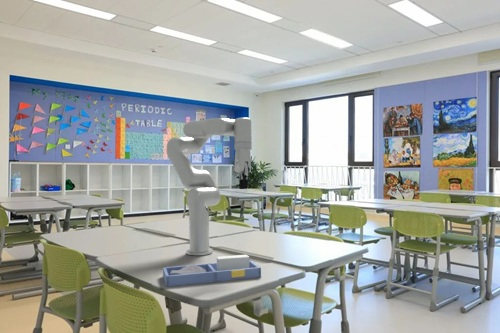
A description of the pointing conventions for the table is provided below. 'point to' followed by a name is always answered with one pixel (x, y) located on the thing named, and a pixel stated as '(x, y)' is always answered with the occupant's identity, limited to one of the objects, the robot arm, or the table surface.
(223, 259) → the white rectangular block
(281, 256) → the table surface
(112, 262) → the table surface
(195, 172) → the robot arm
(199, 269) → the grey grainy mound
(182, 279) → the blue divided tray
